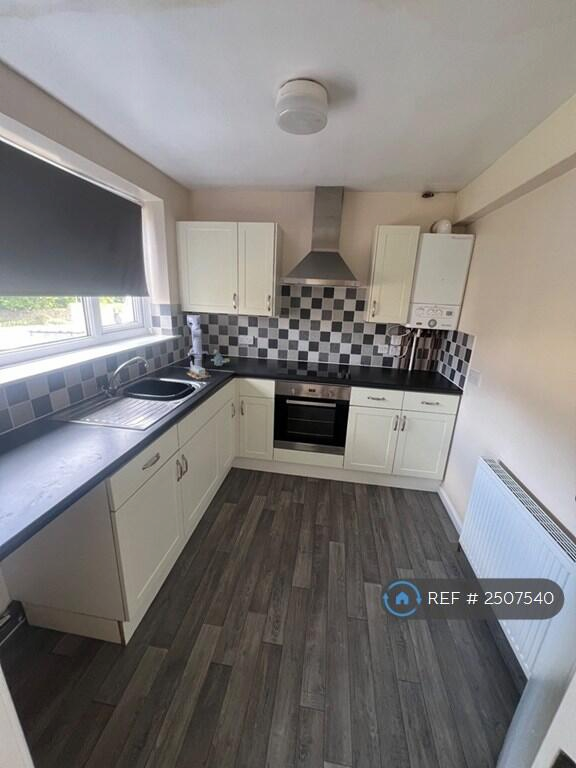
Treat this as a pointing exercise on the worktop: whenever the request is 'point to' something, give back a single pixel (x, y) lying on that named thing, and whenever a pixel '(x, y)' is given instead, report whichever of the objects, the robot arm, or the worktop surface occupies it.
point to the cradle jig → (198, 375)
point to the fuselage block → (199, 370)
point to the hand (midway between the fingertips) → (198, 364)
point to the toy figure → (219, 359)
